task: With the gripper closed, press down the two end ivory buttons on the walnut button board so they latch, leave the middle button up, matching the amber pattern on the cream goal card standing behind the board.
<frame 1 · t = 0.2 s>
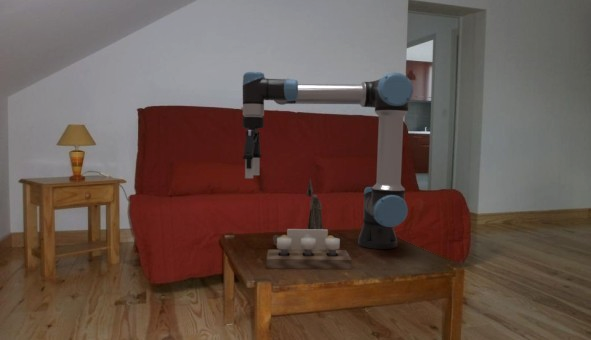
hand: (252, 176, 152), 27 cm above the table, fingers open, 13 cm apart
button a: (332, 247, 141), point 5 cm above the table, slide at 0.0 cm
button b: (308, 247, 141), point 5 cm above the table, slide at 0.0 cm
stone: (286, 249, 161), on the table
goal card: (307, 258, 148), on the table
board: (307, 263, 141), on the table
button c: (284, 247, 141), point 5 cm above the table, slide at 0.0 cm
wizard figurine: (312, 238, 178), on the table
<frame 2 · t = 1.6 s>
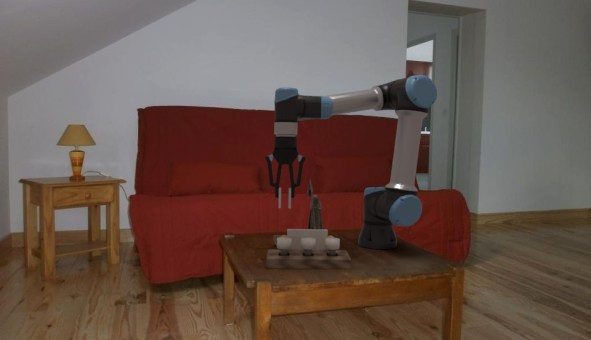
hand: (284, 207, 140), 19 cm above the table, fingers open, 3 cm apart
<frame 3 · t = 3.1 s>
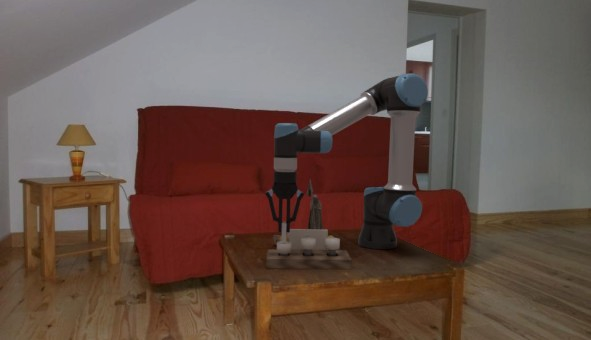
hand: (283, 242, 141), 7 cm above the table, fingers closed
button c: (284, 251, 141), point 4 cm above the table, slide at 1.4 cm
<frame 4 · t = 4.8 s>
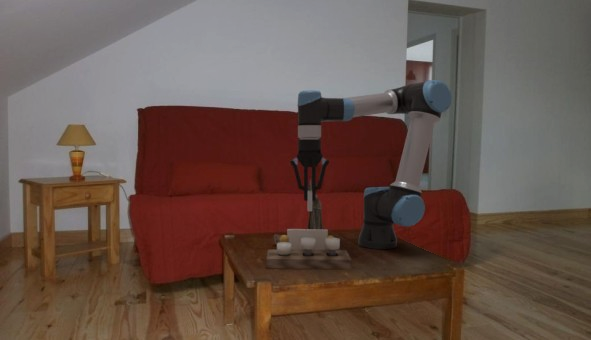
hand: (309, 210, 141), 18 cm above the table, fingers closed
button c: (284, 252, 141), point 4 cm above the table, slide at 1.7 cm
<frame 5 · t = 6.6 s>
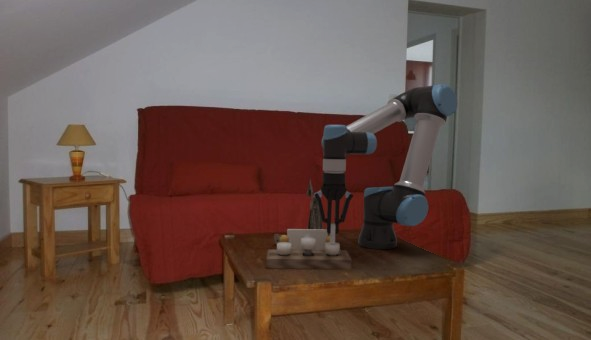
hand: (332, 243, 141), 7 cm above the table, fingers closed
button a: (332, 252, 141), point 4 cm above the table, slide at 1.6 cm, touching gripper
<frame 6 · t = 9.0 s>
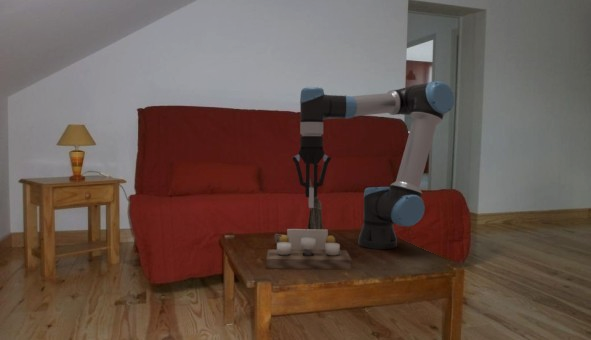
hand: (311, 207, 141), 19 cm above the table, fingers closed
button a: (332, 253, 141), point 4 cm above the table, slide at 1.7 cm
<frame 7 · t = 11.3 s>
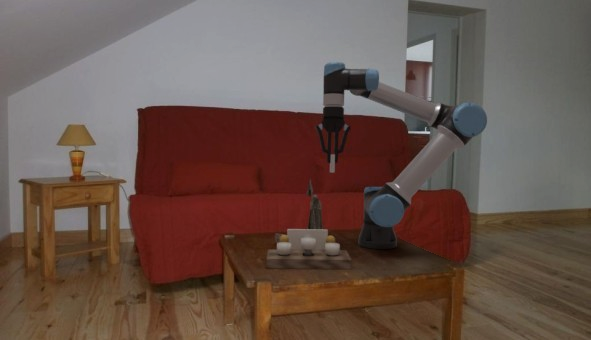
hand: (332, 172, 155), 29 cm above the table, fingers closed
at the end: button c slide at 1.7 cm; button a slide at 1.7 cm; button b slide at 0.0 cm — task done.
